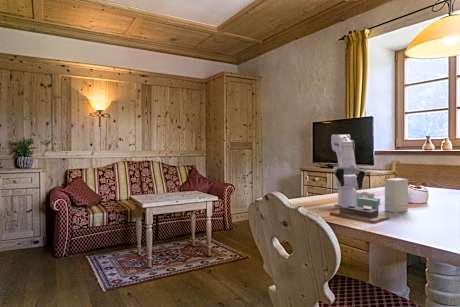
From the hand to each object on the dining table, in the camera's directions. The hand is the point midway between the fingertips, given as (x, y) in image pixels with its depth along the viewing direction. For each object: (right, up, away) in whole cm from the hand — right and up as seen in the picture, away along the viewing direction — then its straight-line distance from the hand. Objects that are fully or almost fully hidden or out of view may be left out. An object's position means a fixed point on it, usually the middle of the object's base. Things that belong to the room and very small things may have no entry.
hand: (351, 186), depth 137 cm
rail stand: (+1, -12, -4) cm, 13 cm away
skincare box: (+23, -12, +5) cm, 26 cm away
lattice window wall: (+18, -11, +25) cm, 33 cm away
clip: (+9, -12, +4) cm, 15 cm away
